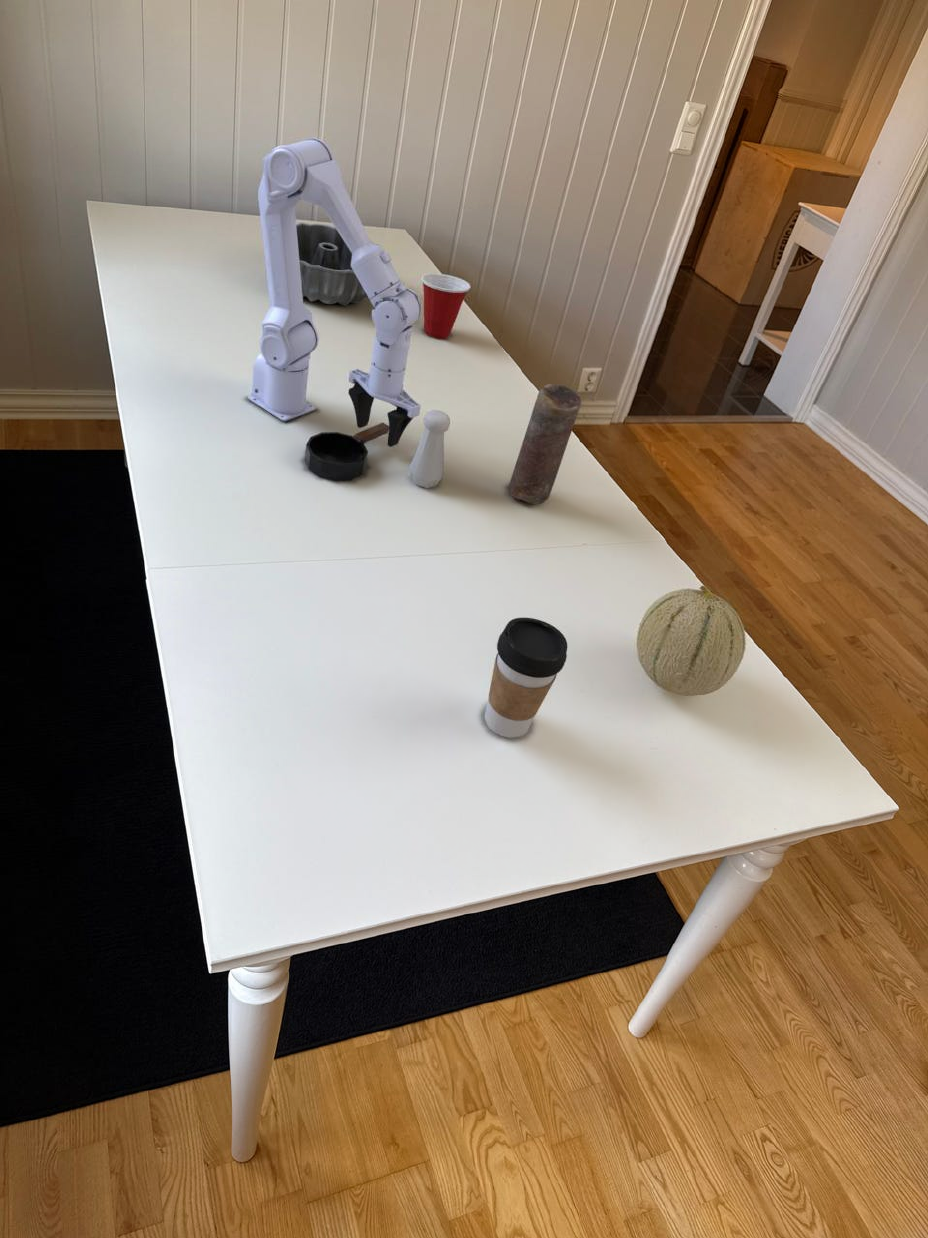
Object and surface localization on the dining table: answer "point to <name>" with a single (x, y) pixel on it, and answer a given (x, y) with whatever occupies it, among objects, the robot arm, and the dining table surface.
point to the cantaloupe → (691, 642)
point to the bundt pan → (326, 266)
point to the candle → (544, 443)
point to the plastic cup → (442, 303)
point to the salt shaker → (430, 450)
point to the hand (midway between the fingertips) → (377, 435)
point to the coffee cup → (523, 674)
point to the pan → (340, 453)
